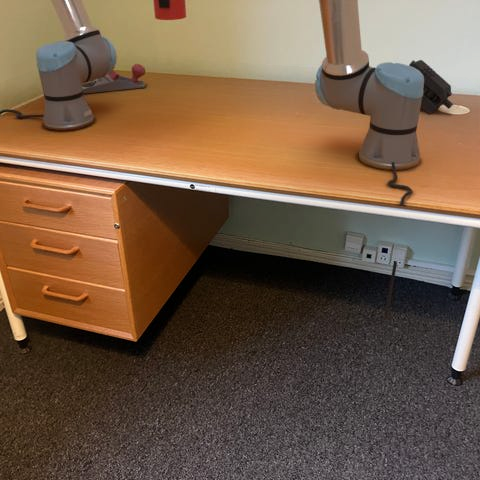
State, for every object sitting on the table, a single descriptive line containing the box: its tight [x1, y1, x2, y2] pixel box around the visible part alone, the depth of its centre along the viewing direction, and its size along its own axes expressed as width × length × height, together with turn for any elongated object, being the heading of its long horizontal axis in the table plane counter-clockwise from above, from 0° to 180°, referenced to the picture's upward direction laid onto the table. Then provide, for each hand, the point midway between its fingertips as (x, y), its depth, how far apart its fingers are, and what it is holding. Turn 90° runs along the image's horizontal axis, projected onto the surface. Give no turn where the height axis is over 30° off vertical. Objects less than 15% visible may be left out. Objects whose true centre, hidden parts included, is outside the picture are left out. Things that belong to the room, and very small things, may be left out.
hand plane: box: [82, 63, 146, 95], centre depth 194 cm, size 7×31×15 cm, turn 107°
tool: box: [408, 59, 454, 114], centre depth 170 cm, size 6×19×15 cm, turn 51°
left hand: (169, 4), depth 145 cm, fingers closed on canister, 9 cm apart
